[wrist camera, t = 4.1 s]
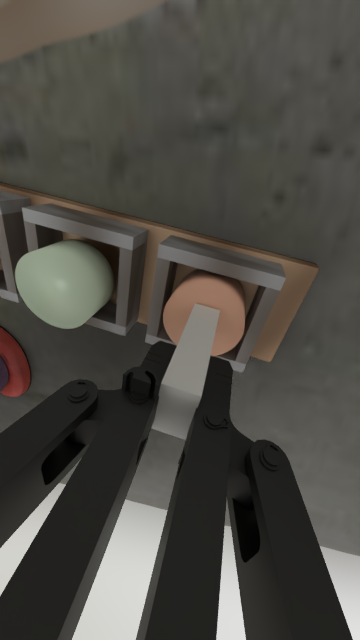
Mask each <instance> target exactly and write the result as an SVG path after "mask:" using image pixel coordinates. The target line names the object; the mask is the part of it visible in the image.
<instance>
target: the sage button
mask: <svg viewBox="0 0 360 640" xmlns="http://www.w3.org/2000/svg"><path fill="white" fill-rule="evenodd" d="M15 280H16V285H17V288H18V291H19V293H20V295H21V297H22V299H23V301H24V302H25V303H26V305H27V306H28V307H29V309H30V310H31V311H32V312H33V313H34V314H35V315H36V316H38V317H39V318H40V319H42V320H43V321H45V322H46V323H48V324H50V325H52V326H55V327H58V328H63V329H73V328H77V327H79V326H81V325H82V324H84V323H85V322H86V321H87V320H88V319H89V318H91V317H92V316H93V315H94V314H95V313H96V312H97V311H98V310H99V309H101V308H102V307H103V306H104V305H105V304H106V303H107V302H108V301H109V300H110V299H111V297H112V295H113V293H114V289H115V279H114V274H113V271H112V268H111V266H110V264H109V262H108V261H107V259H106V258H105V257H104V256H103V254H102V253H101V252H100V251H99V250H98V249H96V248H95V247H94V246H92V245H91V244H89V243H87V242H84V241H82V240H77V239H67V240H63V241H61V242H58V243H55V244H52V245H49V246H46V247H43V248H40V249H38V250H35V251H32V252H29V253H27V254H25V255H24V256H22V257H21V259H20V260H19V261H18V263H17V266H16V270H15Z"/></svg>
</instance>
